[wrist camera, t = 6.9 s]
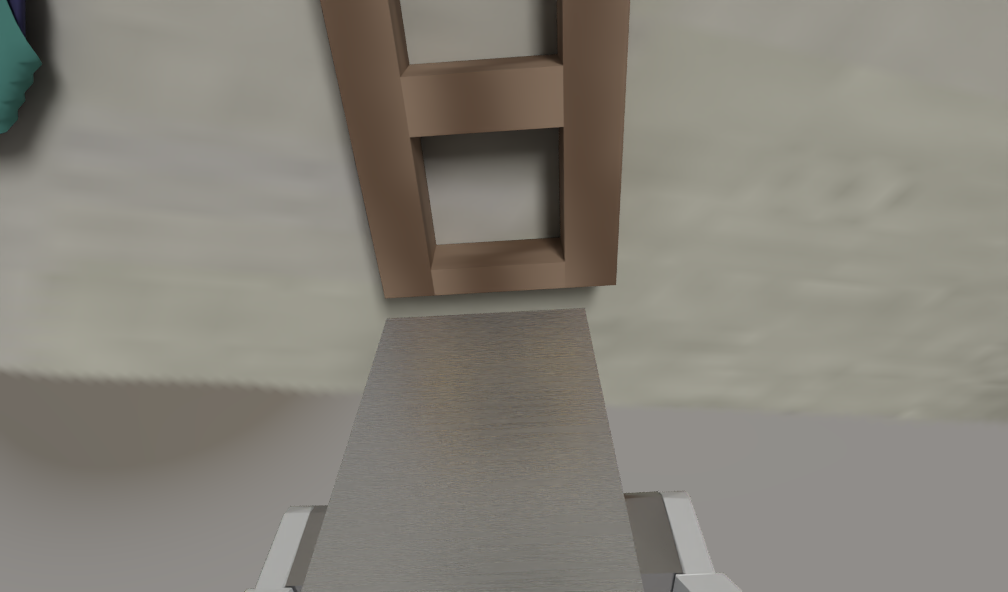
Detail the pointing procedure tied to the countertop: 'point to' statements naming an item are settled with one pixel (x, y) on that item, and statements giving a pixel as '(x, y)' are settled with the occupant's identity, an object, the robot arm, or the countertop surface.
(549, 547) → the steel block
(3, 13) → the cutlery set
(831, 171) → the countertop surface
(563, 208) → the walnut rail
